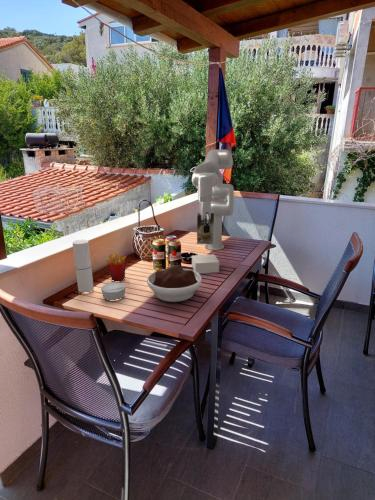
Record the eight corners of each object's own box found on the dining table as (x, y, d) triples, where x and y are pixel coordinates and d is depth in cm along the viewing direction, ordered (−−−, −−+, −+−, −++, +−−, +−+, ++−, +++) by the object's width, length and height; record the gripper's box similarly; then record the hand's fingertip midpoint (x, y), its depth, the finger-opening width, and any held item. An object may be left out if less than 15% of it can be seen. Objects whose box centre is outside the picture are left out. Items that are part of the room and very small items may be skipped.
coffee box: (196, 244, 185) (196, 215, 180) (197, 240, 191) (197, 212, 186) (213, 244, 184) (213, 215, 179) (213, 241, 190) (214, 212, 185)
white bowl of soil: (153, 284, 171) (152, 256, 167) (203, 286, 169) (203, 257, 164) (142, 308, 148) (140, 275, 143) (199, 310, 145) (199, 277, 140)
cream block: (192, 265, 197) (191, 255, 195) (214, 264, 199) (214, 254, 197) (195, 273, 185) (195, 263, 183) (219, 272, 187) (219, 261, 185)
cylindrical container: (80, 295, 161) (73, 244, 153) (77, 289, 167) (71, 241, 159) (95, 292, 164) (90, 242, 156) (91, 287, 170) (86, 238, 162)
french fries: (116, 277, 182) (113, 250, 177) (129, 278, 179) (128, 251, 175) (107, 283, 174) (104, 255, 169) (121, 285, 171) (119, 257, 167)
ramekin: (114, 304, 151) (113, 294, 150) (96, 299, 157) (95, 288, 155) (131, 295, 160) (130, 285, 159) (113, 290, 166) (113, 280, 164)
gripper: (195, 196, 187) (195, 227, 193) (201, 201, 171) (201, 235, 176) (209, 195, 188) (208, 226, 194) (215, 200, 172) (215, 234, 177)
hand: (205, 230), depth 185 cm, fingers closed on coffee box, 7 cm apart
